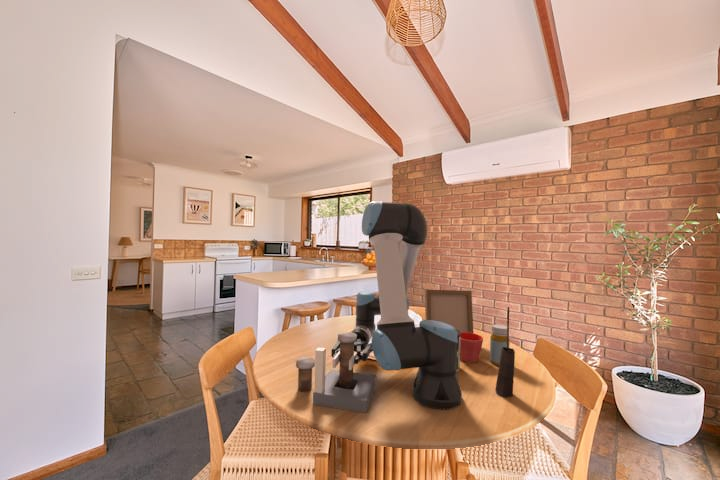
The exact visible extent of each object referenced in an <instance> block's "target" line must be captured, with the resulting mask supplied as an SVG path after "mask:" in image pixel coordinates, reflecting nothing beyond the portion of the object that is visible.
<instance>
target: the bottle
mask: <svg viewBox="0 0 720 480" xmlns="http://www.w3.org/2000/svg"><path fill="white" fill-rule="evenodd" d="M489 341H490V344H489V346H490V347H489V361H490V362H491V363H492V364H493V365H495V366H497V367H499V363H500V357H501V350H502V347H507V325H504V324H498V323H497V324H496V323H495V324H492V325H491V334H490V340H489ZM508 343H509V344H510V341H509V342H508Z"/></svg>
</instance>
